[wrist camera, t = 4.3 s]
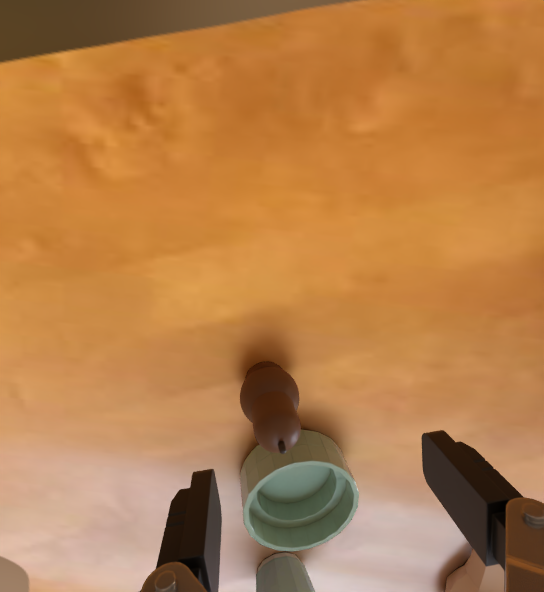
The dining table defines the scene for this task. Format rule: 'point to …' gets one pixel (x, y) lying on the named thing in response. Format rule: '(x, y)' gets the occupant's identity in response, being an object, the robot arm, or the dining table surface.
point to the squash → (476, 577)
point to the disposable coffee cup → (283, 575)
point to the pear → (271, 406)
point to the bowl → (297, 494)
